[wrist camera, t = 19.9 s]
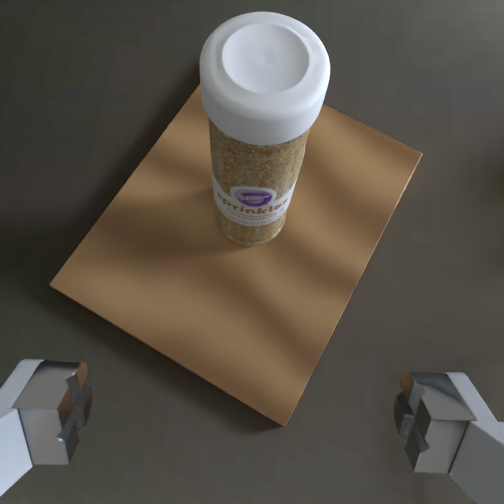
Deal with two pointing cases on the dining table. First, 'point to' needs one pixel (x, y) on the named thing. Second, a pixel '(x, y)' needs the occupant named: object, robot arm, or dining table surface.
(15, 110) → the dining table surface
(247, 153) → the sprinkles bottle
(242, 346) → the wooden board
